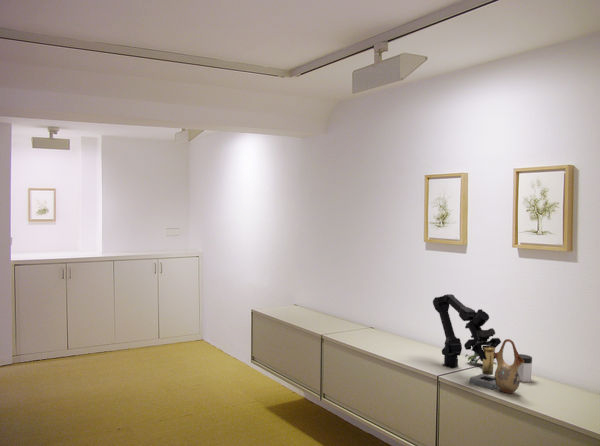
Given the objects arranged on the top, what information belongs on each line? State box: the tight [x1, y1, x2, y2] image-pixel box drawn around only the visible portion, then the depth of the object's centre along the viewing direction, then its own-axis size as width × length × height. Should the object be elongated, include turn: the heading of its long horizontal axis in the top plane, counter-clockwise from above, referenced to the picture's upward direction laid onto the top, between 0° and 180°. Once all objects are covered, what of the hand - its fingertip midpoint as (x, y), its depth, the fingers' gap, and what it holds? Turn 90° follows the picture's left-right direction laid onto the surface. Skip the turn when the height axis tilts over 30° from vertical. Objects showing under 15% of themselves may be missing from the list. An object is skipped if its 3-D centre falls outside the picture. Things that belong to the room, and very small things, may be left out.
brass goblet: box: [481, 345, 496, 376], centre depth 260 cm, size 6×6×13 cm
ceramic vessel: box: [493, 338, 524, 394], centre depth 249 cm, size 16×9×25 cm, turn 32°
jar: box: [518, 353, 533, 383], centre depth 269 cm, size 9×8×12 cm
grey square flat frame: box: [469, 373, 499, 390], centre depth 260 cm, size 12×12×2 cm
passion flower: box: [465, 351, 483, 367], centre depth 293 cm, size 11×11×12 cm
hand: (490, 358), depth 259 cm, fingers closed on brass goblet, 5 cm apart
